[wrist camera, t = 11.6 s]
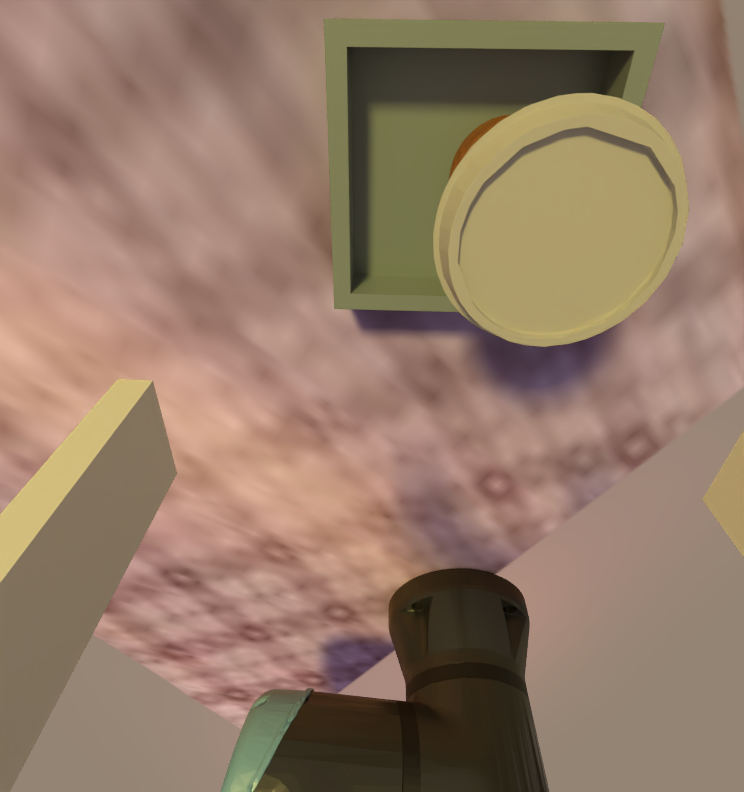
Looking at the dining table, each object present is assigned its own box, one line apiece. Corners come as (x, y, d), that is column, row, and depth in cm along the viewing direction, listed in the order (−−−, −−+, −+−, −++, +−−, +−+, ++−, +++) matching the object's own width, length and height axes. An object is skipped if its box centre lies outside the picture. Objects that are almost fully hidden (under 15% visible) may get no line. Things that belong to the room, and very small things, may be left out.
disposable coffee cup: (623, 178, 28) (748, 247, 18) (487, 288, 32) (529, 394, 22) (525, 30, 24) (617, 15, 14) (386, 176, 28) (382, 243, 18)
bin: (563, 288, 33) (582, 315, 29) (340, 283, 33) (334, 309, 30) (628, 27, 25) (665, 22, 21) (332, 23, 25) (323, 18, 22)
